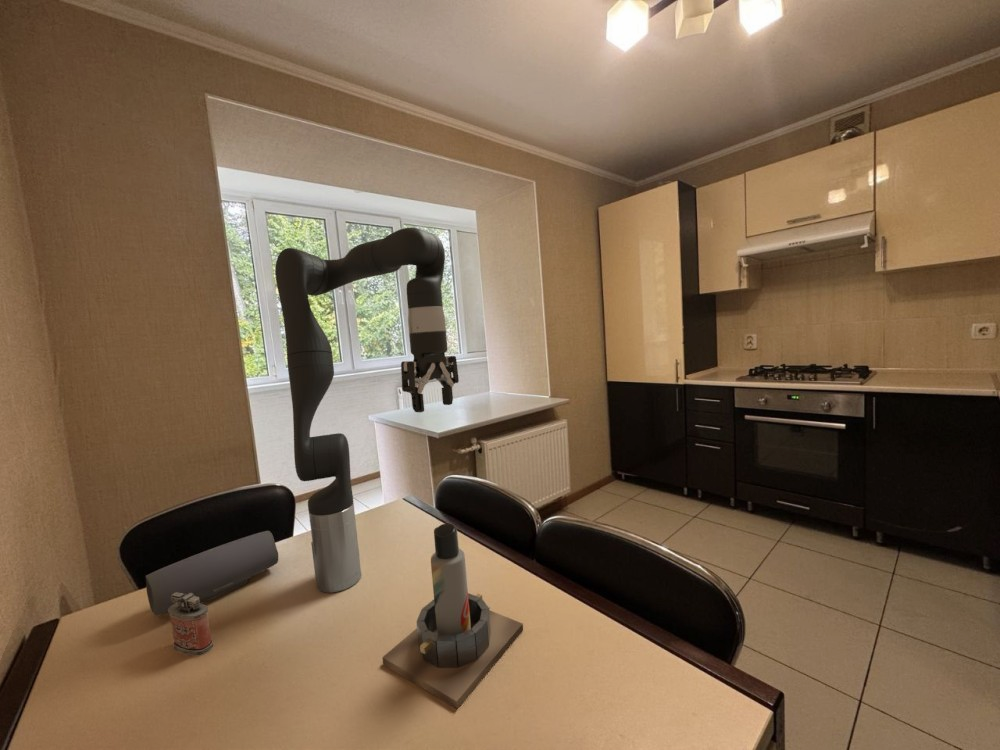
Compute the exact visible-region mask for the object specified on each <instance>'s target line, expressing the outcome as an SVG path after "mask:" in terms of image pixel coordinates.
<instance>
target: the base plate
mask: <svg viewBox="0 0 1000 750" xmlns="http://www.w3.org/2000/svg"><path fill="white" fill-rule="evenodd" d="M487 606H488V608H489V616H490V629H491V636H490V643H489V647H488V648H487V649H486V651H485V652H484V653H483V654H482V655H481V656H480V657H479V658H478V659H477V660H476V661H473V662H471V663H469V664H466V665H464V666H462V667H458V668H439V667H438V668H437V667H436V666H434V665H432V664H430V663H428V662H426V661H425V660H424V659H423V657H422V654H421V652H420V649H419V644H418V633H417V627H416V628H415V629H414V630H412V632H410V633H409V634H408V635H407V636H405V637H404V638H403V639H402V640H401V641H400V642H398V643H397V644H396V645H395V646H394V647H393V648H392V649H391V650H389V651H388V652H387V653H386V654H384V655H383V656H382V664H383V666H385V667H388V668H389V669H390V670H391V671H393V672H395V673H397V674H399V675H400V676H402V677H403V678H405V679H406V680H409V681H410V682H412V683H414V684H416V685H417V686H419V687H420V688H422V689H424V690H425V691H427V692H429V693H430V694H432V695H433V696H436V698H438V699H440V700H442V701H444V702H445V703H447V704H448V705H450V706H451V707H453V708H455V709H457V710H458V709H459V707H461V705H462V704H463V703H464V702H465V701H466V699H467V698H468V697H469V696H470V695H471V694H472V692H473V691H474V690H475V689H476V687H477V686H478V685H479V684H480V682H481V681H482V680H483V679H484V678H485V676H486V675H487V674H488V673H489V672H490V670H491V669H493V667H494V665H496V663H497V662H498V661H499V660H500V658H501V657H502V656H503V655H504V653H505V652H507V650H508V649H509V648H510V646H511V645H512V644H513V643H514V642H515V640H516V639H517V638H518V637H519V636H520V634H522V632H523V631H524V624H523V623H522V622H519V621H518V620H515V619H512V618H510V617H508V616H505V615H502V614H499V613H498V612H495V611H492V610H490V609H491V606H489V605H487ZM470 625H471V629H472V628H473V627H474V626H475V625H476V624H474V623H472V622H470ZM433 633H435V634H437V629H436V630H434V631H433Z"/></svg>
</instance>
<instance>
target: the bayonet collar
mask: <svg viewBox="0 0 1000 750" xmlns="http://www.w3.org/2000/svg"><path fill="white" fill-rule="evenodd" d="M468 600H469V612H470V622H472V623H474V624H476V625H475V626H474V627H473V628H472V629H471V630H468V631H466V632H463V633H461V634H458V635H455V636H439V635H437V634H435V633H433V631H434V630H436V629H437V625H436V614H435V603H434V599H432V600H431V601H430V602H428V603H427V604H426V605H425V606H424V607H422V608H421V610H420V612H419V615H418V618H417V619H416V628H417V633H418V644H419V649H420V652H421V654H422V657H423V659H424V660H425V661H426V662H428V663H430V664H432V665H434V666H436V667H437V668H438V667H439V668H458V667H462V666H464V665H466V664H469V663H471V662H473V661H476V660H477V659H478V658H479V657H480V656H481V655H482V654H483V653H484V652H485V651H486V649H487V648H488V647H489V643H490V636H491V629H490V616H489V610H490V609H489V608H488V606H489V605H487V604H486V602H485V601H484V599H483V595H482V594H481V593H477V594H476V595H474V594H471V593H468Z"/></svg>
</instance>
